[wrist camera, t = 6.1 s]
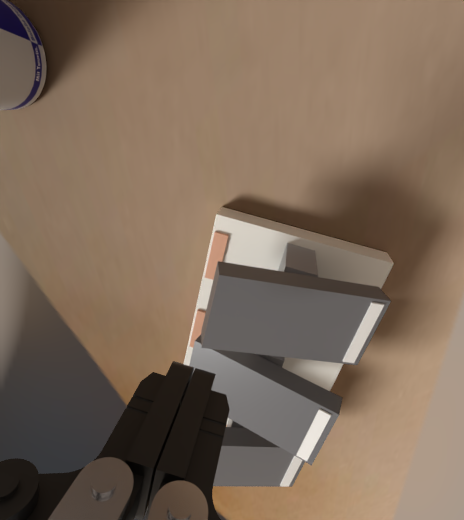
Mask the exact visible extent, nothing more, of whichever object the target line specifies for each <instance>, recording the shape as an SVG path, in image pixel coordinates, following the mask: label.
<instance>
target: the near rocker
mask: <svg viewBox="0 0 464 520" xmlns="http://www.w3.org/2000/svg"><path fill="white" fill-rule="evenodd" d="M390 302H391V300H390V299H389V298H388V297H387V296H386V295H385V293H384V292H383V291H382V290H381V289H380V288H379V287H377V286H370V285H364V284H358V283H352V282H345V281H339V280H333V279H327V278H320V277H314V276H308V275H302V274H295V273H289V272H283V271H276V270H270V269H264V268H258V267H251V266H245V265H239V264H233V263H226V262H220V261H218V262H217V267H216V271H215V275H214V279H213V284H212V288H211V292H210V296H209V301H208V305H207V309H206V313H205V317H204V322H203V326H202V330H201V345H202V348H208V349H217V350H226V351H235V352H243V353H252V354H261V355H270V356H279V357H288V358H297V359H306V360H315V361H324V362H333V363H342V364H351V365H358V363H359V361H360V359H361V357H362V355H363V353H364V351H365V349H366V348H367V346H368V344H369V342H370V340H371V338H372V336H373V334H374V332H375V331H376V329H377V327H378V325H379V323H380V321H381V319H382V317H383V315H384V314H385V312H386V310H387V308H388V306H389V304H390Z"/></svg>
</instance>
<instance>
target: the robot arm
mask: <svg viewBox="0 0 464 520" xmlns="http://www.w3.org/2000/svg"><path fill="white" fill-rule="evenodd" d="M193 371H194V372H193ZM215 375H216V374H214V373H211V372H207V371H204V370H201V369H198V368H195V370H194V367H191V366H188V365H184V364H181V363H178V362H175V361H173V363H172V364H171V366H170V369H169V371H168V373H167V375H166V376H164V375H161V374H158V373H154V372H153V373H151V374H150V375H149V376H148V377H146V378H145V379H144V380H142V381H141V382H140V384H139V386H138V388H137V389H136V391H135V393H134V395H133V397H132V398H131V400H130V402H129V404H128V405H127V408H126V409H125V411H124V412H123V414H122V416H121V418H120V420H119V421H118V423H117V425H116V427H115V428H114V430H113V432H112V434H111V435H110V437H109V439H108V441H107V443H106V444H105V446H104V448H103V450H102V451H101V453H100V454H99V456H98V457H97V458H96V459H95V460H94V461H93V462H91V463H90V464H88V465H87V466H86V467H84V468H82V469H79V470H77V471H73V472H69V473H53V474H38V471H37V469H36V467H35V466H34V465H33V464H32V463H30V462H29V461H27V460H24V459H8V460H4V461H1V462H0V520H134V518H136V519H139V520H143V518H144V516H145V513H146V510H147V508H148V510H147V514H146V519H145V520H221V519H220V518H219V516H218V515H217V513H216V510H215V508H214V504H213V499H212V489H213V483H214V479H215V474H216V470H217V465H218V460H219V456H220V451H221V447H222V442H223V437H224V433H225V428H226V424H227V419H228V415H229V410H230V409H229V404H228V400H227V396H226V394H222V393H219V392H216V391H213V390H211V389H212V386H213V382H214V379H215Z"/></svg>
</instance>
